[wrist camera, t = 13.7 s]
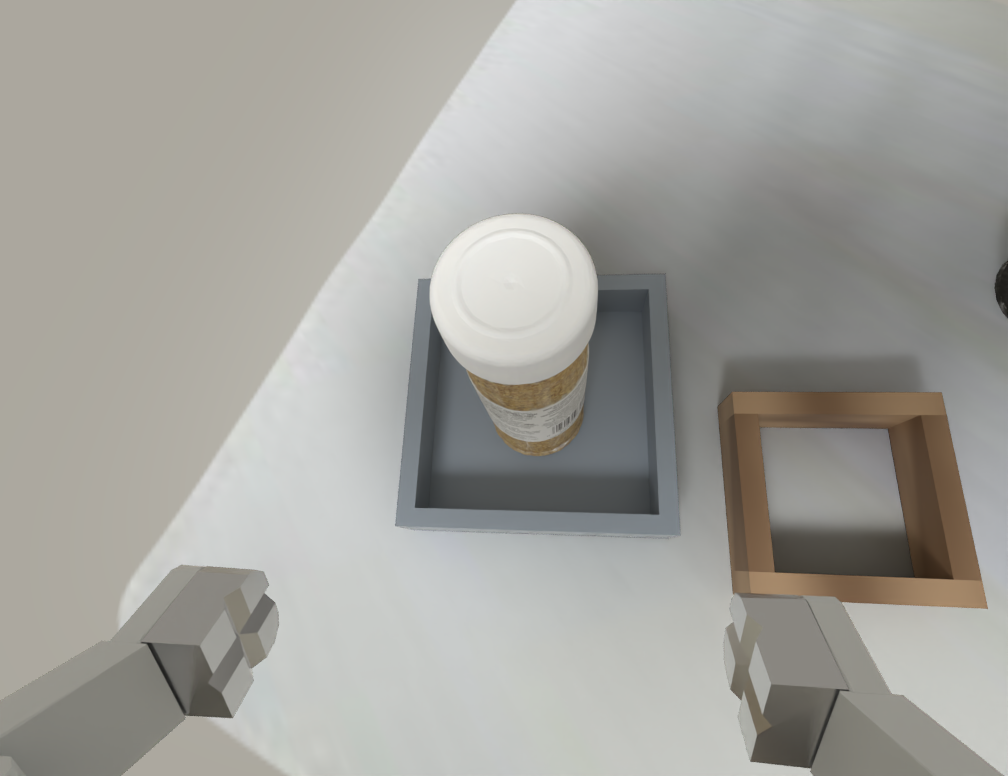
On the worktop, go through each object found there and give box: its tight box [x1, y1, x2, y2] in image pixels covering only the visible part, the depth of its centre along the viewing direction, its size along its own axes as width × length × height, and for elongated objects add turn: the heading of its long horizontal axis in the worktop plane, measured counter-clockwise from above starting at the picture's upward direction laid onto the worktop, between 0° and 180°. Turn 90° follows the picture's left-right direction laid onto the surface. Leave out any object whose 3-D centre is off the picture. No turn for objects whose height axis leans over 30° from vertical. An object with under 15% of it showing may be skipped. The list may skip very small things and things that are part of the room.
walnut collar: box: [718, 392, 988, 609], centre depth 24 cm, size 9×9×2 cm
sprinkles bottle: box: [430, 213, 598, 456], centre depth 21 cm, size 5×5×14 cm
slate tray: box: [395, 274, 680, 538], centre depth 26 cm, size 12×12×3 cm
